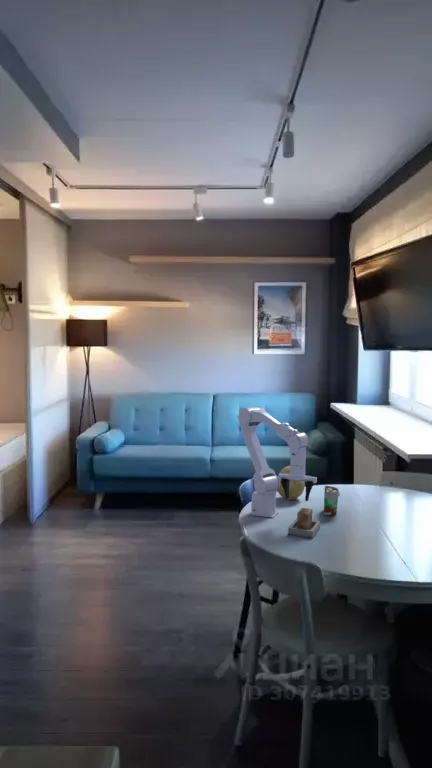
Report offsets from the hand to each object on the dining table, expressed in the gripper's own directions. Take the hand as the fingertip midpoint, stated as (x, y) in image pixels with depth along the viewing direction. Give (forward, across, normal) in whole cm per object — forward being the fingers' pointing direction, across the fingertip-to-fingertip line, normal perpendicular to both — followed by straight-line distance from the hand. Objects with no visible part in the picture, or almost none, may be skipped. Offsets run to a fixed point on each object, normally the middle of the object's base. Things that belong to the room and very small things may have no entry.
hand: (297, 499), depth 220 cm
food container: (+10, +10, +18) cm, 23 cm away
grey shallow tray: (+9, +5, -8) cm, 13 cm away
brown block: (+9, +5, -8) cm, 13 cm away
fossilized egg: (+10, -11, +31) cm, 34 cm away
